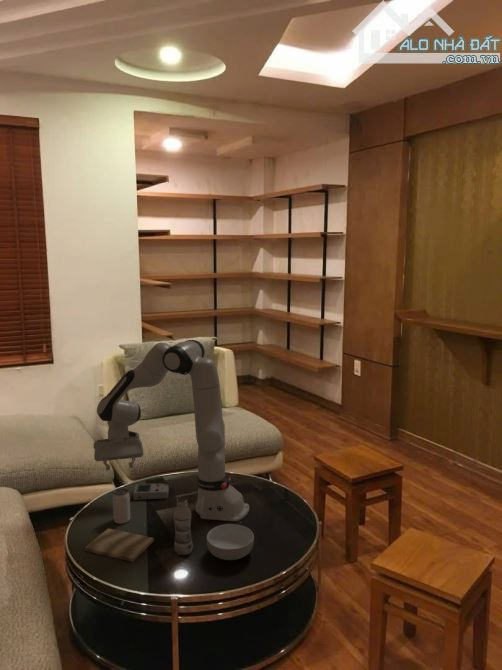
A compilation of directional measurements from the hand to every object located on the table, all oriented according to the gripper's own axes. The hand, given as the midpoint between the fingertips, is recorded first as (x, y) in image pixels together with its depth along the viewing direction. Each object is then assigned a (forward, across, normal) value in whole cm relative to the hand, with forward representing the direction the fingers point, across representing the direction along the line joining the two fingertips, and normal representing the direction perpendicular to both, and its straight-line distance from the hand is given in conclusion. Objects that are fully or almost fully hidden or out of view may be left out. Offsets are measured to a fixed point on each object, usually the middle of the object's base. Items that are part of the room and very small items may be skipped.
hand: (119, 468), depth 219 cm
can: (+21, 0, +3) cm, 21 cm away
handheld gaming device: (+7, +13, +17) cm, 23 cm away
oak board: (+34, -1, -10) cm, 35 cm away
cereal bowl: (+45, +37, -21) cm, 62 cm away
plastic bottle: (+41, +21, -18) cm, 50 cm away
